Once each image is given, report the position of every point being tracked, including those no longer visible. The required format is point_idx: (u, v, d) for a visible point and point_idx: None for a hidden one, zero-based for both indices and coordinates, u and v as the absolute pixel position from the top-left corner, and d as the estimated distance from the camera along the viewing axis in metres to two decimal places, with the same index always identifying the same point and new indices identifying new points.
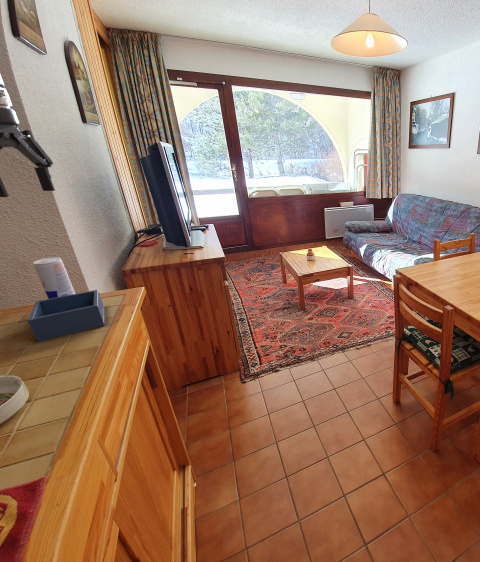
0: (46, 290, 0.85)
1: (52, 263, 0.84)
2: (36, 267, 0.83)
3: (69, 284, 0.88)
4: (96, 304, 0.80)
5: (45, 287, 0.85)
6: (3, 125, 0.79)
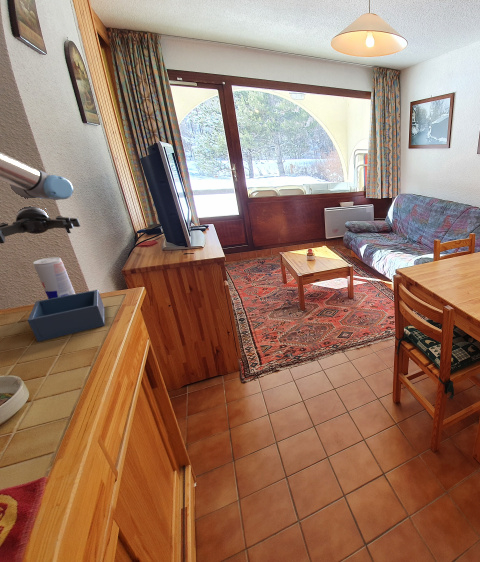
0: (46, 290, 0.85)
1: (52, 263, 0.84)
2: (36, 267, 0.83)
3: (69, 284, 0.88)
4: (96, 304, 0.80)
5: (45, 287, 0.85)
6: None
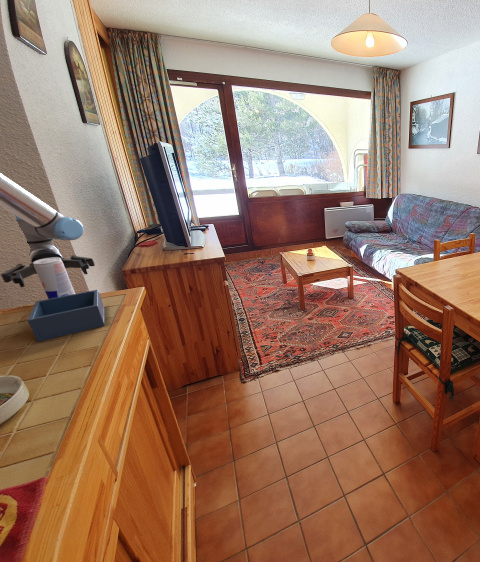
0: (46, 290, 0.85)
1: (52, 263, 0.84)
2: (36, 267, 0.83)
3: (69, 284, 0.88)
4: (96, 304, 0.80)
5: (45, 287, 0.85)
6: None
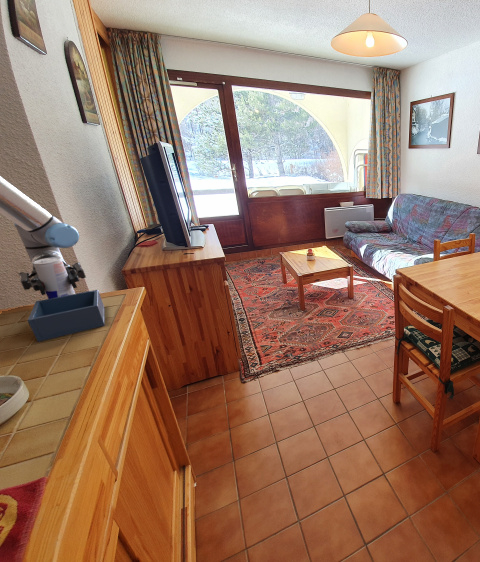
0: (46, 290, 0.85)
1: (52, 263, 0.84)
2: (36, 267, 0.83)
3: (69, 284, 0.88)
4: (96, 304, 0.80)
5: (45, 287, 0.85)
6: None
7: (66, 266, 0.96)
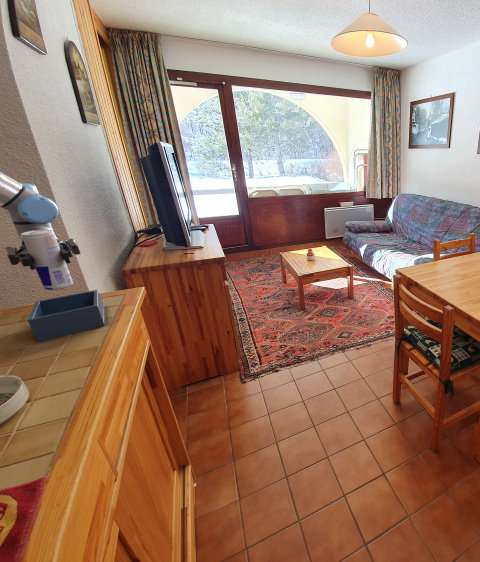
0: (36, 265, 0.77)
1: (43, 235, 0.75)
2: (24, 239, 0.74)
3: (62, 260, 0.80)
4: (96, 304, 0.80)
5: (35, 262, 0.76)
6: None
7: (59, 242, 0.87)
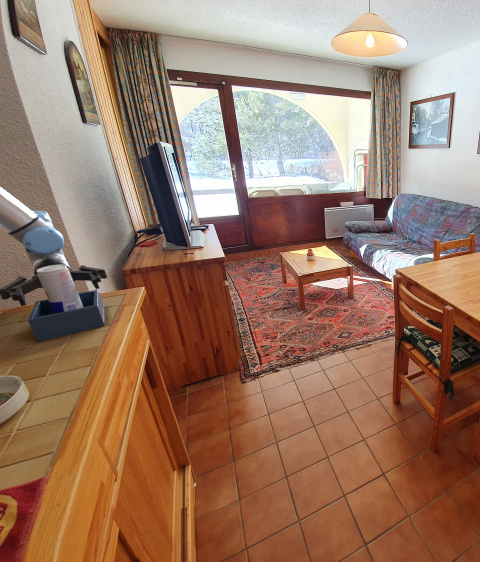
0: (50, 301, 0.77)
1: (57, 271, 0.76)
2: (40, 276, 0.75)
3: (76, 294, 0.80)
4: (96, 304, 0.80)
5: (49, 298, 0.77)
6: None
7: None
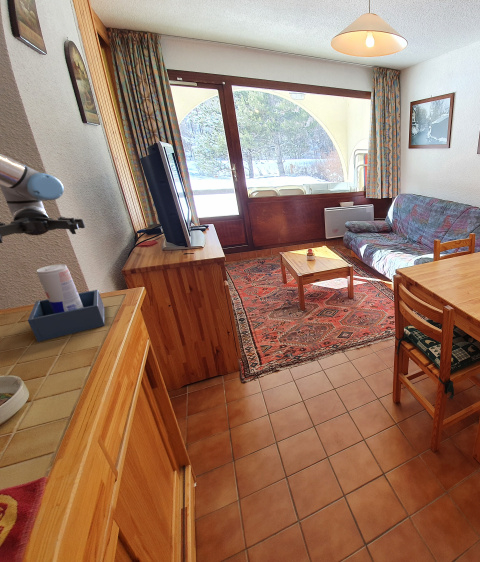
0: (51, 301, 0.77)
1: (57, 271, 0.76)
2: (40, 276, 0.75)
3: (76, 294, 0.80)
4: (96, 304, 0.80)
5: (49, 297, 0.77)
6: None
7: None
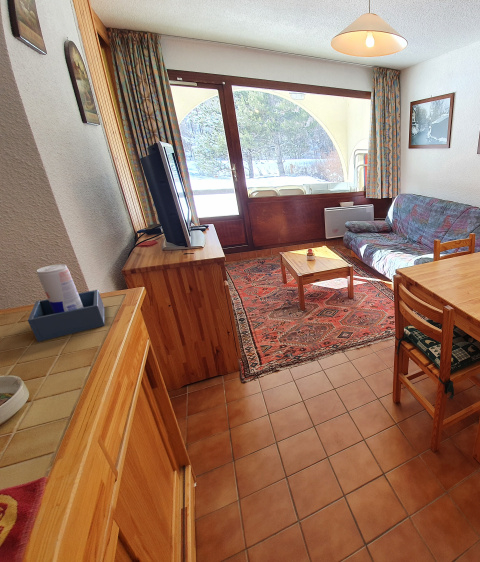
0: (51, 301, 0.77)
1: (57, 271, 0.76)
2: (40, 276, 0.75)
3: (76, 294, 0.81)
4: (96, 304, 0.80)
5: (49, 297, 0.77)
6: None
7: None
